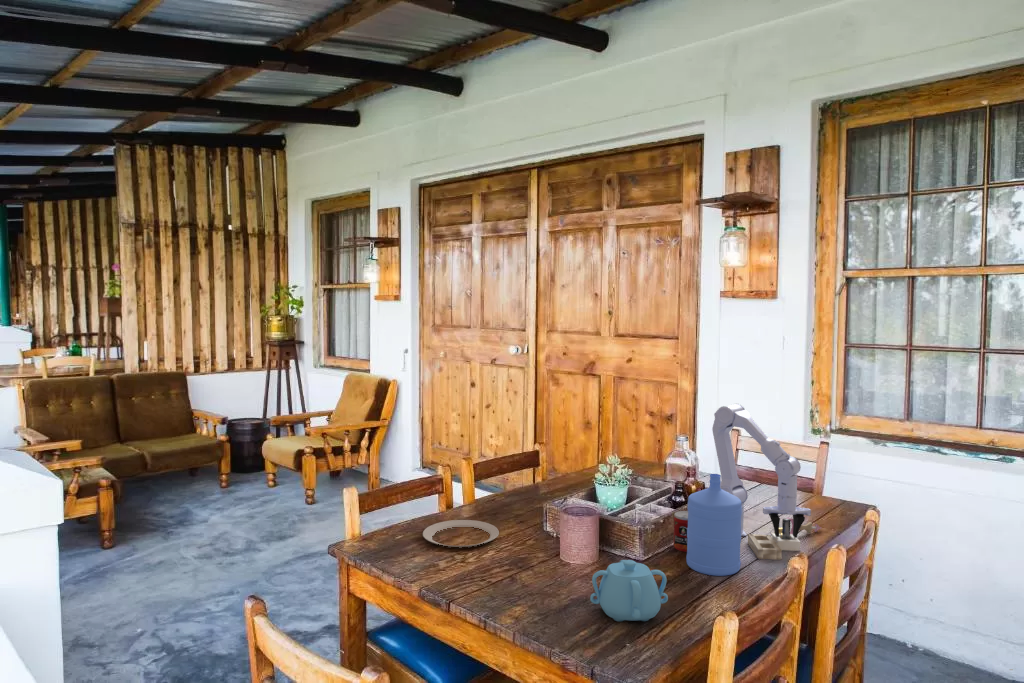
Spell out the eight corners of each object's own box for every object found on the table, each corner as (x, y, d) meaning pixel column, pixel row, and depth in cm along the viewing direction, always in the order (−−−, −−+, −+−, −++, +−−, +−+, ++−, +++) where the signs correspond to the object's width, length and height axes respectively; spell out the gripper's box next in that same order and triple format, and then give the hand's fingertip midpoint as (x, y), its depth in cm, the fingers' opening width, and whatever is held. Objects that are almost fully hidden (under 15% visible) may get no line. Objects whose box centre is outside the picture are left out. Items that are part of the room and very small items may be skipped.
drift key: (779, 542, 228) (779, 533, 228) (774, 535, 234) (774, 527, 234) (788, 542, 228) (788, 534, 228) (782, 535, 234) (782, 527, 234)
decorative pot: (625, 594, 190) (626, 545, 189) (674, 614, 177) (674, 562, 176) (584, 611, 179) (584, 560, 178) (632, 634, 167) (633, 579, 166)
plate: (464, 557, 216) (464, 551, 215) (406, 540, 231) (406, 534, 231) (514, 535, 236) (514, 529, 236) (457, 520, 251) (457, 515, 251)
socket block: (777, 549, 223) (777, 540, 222) (764, 533, 239) (765, 524, 238) (799, 550, 222) (800, 541, 222) (785, 533, 238) (786, 525, 238)
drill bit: (782, 547, 225) (783, 520, 224) (780, 545, 227) (781, 518, 226) (790, 548, 224) (791, 520, 224) (788, 545, 227) (789, 518, 226)
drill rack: (758, 558, 215) (758, 549, 215) (747, 542, 229) (748, 533, 229) (781, 559, 214) (781, 550, 214) (769, 543, 228) (769, 534, 228)
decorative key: (821, 538, 241) (783, 538, 231) (818, 537, 242) (780, 537, 232) (824, 519, 241) (786, 518, 231) (821, 518, 242) (783, 517, 232)
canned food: (670, 549, 223) (671, 516, 222) (677, 541, 230) (677, 509, 229) (694, 553, 219) (695, 519, 218) (700, 545, 226) (701, 512, 225)
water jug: (743, 579, 200) (746, 483, 198) (687, 574, 203) (689, 480, 201) (737, 559, 215) (739, 470, 213) (685, 555, 218) (686, 467, 216)
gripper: (767, 497, 221) (765, 539, 222) (814, 499, 220) (813, 541, 221) (761, 491, 228) (760, 532, 229) (807, 493, 227) (806, 533, 228)
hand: (785, 536), depth 226 cm, fingers open, 5 cm apart
